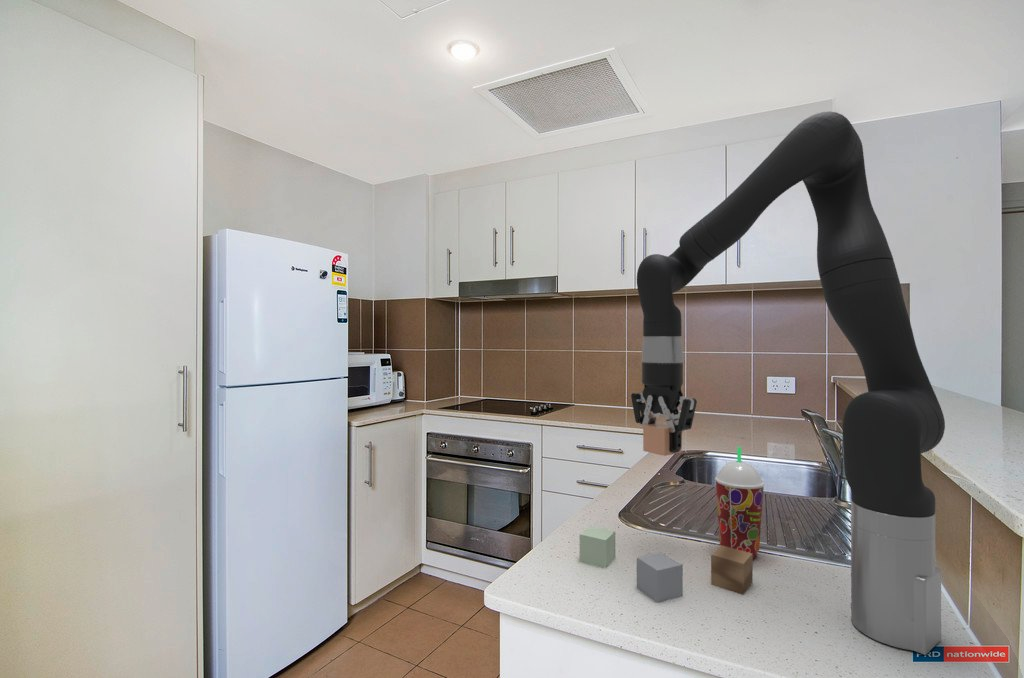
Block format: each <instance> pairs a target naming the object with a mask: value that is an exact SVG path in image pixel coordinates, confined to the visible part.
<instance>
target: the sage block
mask: <svg viewBox="0 0 1024 678" xmlns="http://www.w3.org/2000/svg"><path fill="white" fill-rule="evenodd" d="M614 559H616V530H613V529H609V528H604V527H600V526H593V525H589V526H587V528H585V529H584V530H583V531H582V532H580V533H579V562H580V563H584V564H589V565H592V566H597V567H600V568H604V569H607V567H608V566H609V565H610V564H611V563H612V562H613V561H614Z"/></svg>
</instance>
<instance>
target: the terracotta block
mask: <svg viewBox="0 0 1024 678" xmlns="http://www.w3.org/2000/svg"><path fill="white" fill-rule="evenodd" d="M642 431H643V433H642V434H643V435H642V438H643V439H642V440H643V441H642V442H643V443H642V451H643V452H647V453H651V454H655V455H659V456H664V457H665V456H666V457H667V456H670V455H671V456H672V455H676V454H681V453H682V450H683V446H682V447H681V449H680V450H679V452H675V453H672V452H670V451H669V433H670V429H669V426H668V423H665V422H656V423H653V424H646V425H642ZM682 441H683V440H682ZM682 441H681V442H682ZM681 444H682V443H681Z"/></svg>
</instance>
